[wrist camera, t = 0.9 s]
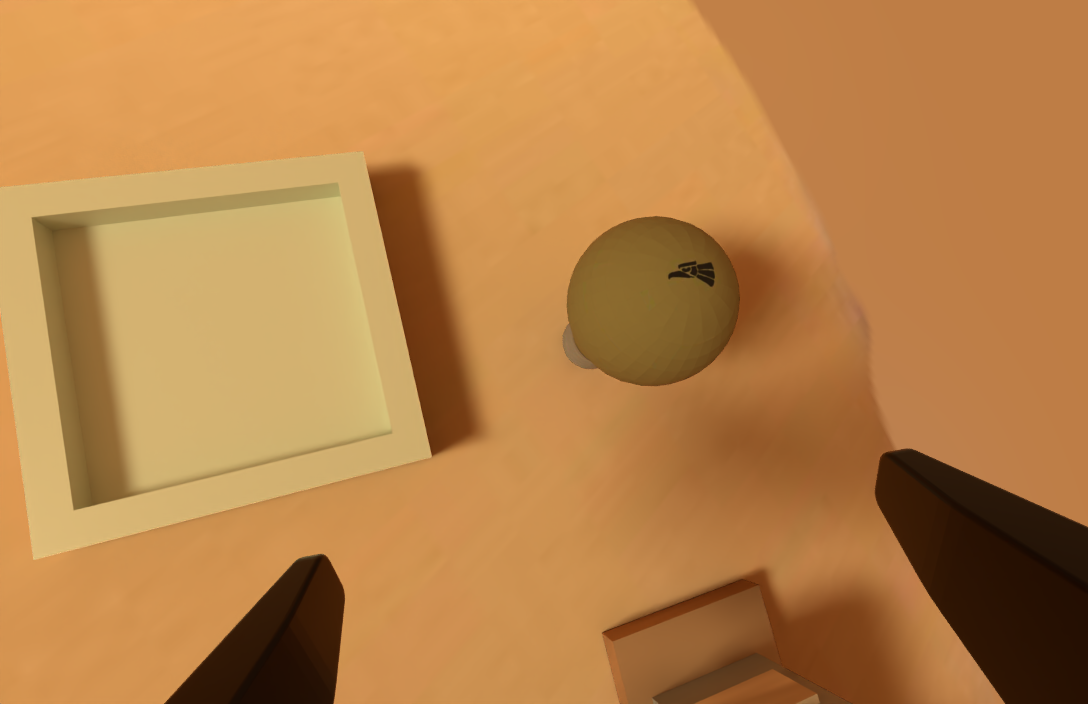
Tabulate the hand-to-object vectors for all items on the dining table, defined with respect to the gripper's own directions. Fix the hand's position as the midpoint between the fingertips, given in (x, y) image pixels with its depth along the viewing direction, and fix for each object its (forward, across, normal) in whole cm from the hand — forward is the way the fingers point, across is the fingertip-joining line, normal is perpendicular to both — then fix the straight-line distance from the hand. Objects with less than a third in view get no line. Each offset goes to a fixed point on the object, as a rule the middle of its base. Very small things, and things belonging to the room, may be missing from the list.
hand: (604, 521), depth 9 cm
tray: (+14, +12, +1) cm, 19 cm away
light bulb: (+16, -1, +6) cm, 17 cm away
